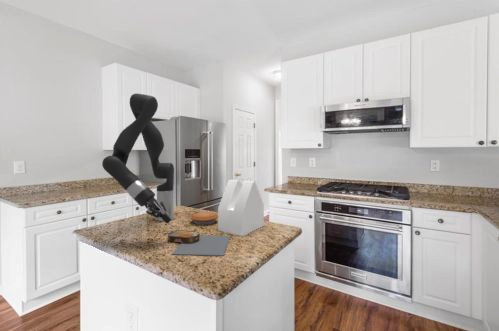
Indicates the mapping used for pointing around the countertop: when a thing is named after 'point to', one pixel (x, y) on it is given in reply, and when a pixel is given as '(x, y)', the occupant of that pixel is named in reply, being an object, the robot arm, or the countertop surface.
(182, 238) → the tin
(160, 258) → the countertop surface
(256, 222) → the milk carton
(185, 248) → the mat
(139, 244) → the countertop surface
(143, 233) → the countertop surface
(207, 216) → the pie
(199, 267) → the countertop surface
